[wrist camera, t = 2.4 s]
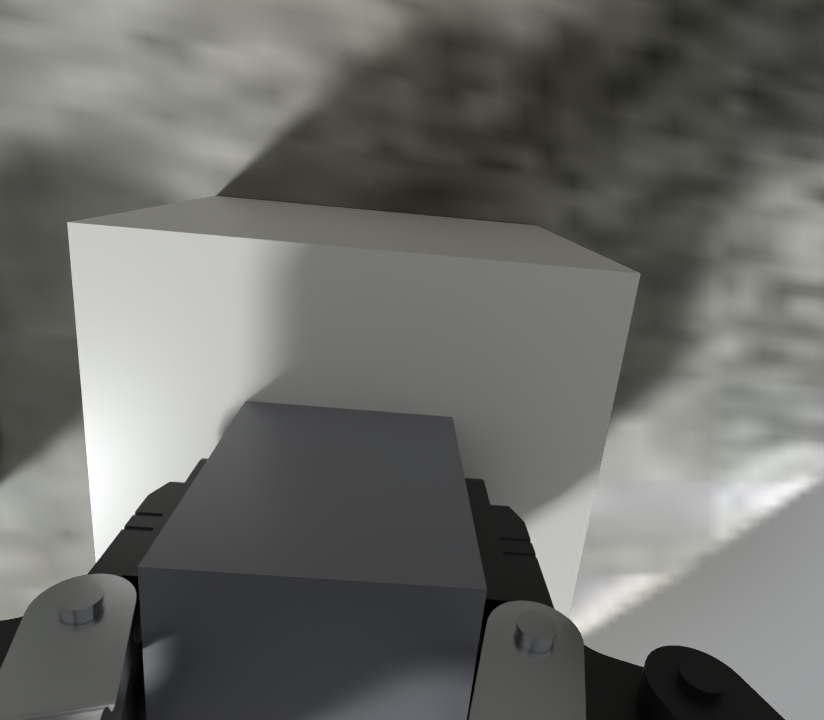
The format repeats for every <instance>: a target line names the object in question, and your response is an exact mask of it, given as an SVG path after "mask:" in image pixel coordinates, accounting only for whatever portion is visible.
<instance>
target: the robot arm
mask: <svg viewBox="0 0 824 720" xmlns="http://www.w3.org/2000/svg"><path fill="white" fill-rule="evenodd" d="M207 460H208V459H206V458H202V459H200V461H199V462H198V463H197V465H196V466H195V468H194V469H193V471H192V472H191V474H190V475H189V477H188V478H187V480H186V481H185V483H184V482H168V483H167V484H165V485H163V486H162V487H160V488H159V489H157V490H155V491H154V492H152V493H150V494H149V495H148V496H147V497H146V498H145V500H144V501H143V502H142V503H141V505H140V506H139V507H138V509H137V510H136V511H135V515H132V517H131V518H130V519H129V521H128V522H127V523H126V524H125V527H124V529H122V530H121V531H120V532H119V534H118V535H117V536H116V538H115V539H114V540H113V542H112V543H111V544H110V545H109V547H108V548H107V549H106V551H105V552H104V553H103V555H102V556H101V557H100V559H99V560H98V561H97V563H96V564H95V565H94V566H93V568H92V569H91V570H90V572H89V573H88V574H87V575H82V576H78V577H74V578H71V579H68V580H65V581H62V582H60V583H58V584H56V585H54V586H52V587H50V588H48V589H47V590H45V591H44V592H42V593H41V594H40V595H39V596H37V597H36V598H35V599H34V600H33V601H32V602H31V604H30V605H29V606H28V608H27V610H26V611H25V613H24V616H23V617H19V618H14V619H9V620H3V621H0V720H147V718H146V701H145V684H144V667H143V650H142V633H141V616H140V599H139V582H138V565H139V564H140V562H141V561H142V559H143V558H144V556H145V555H146V553H147V552H148V550H149V549H150V547H151V545H152V544H153V542H154V541H155V539H156V538H157V536H158V535H159V533H160V532H161V530H162V529H163V527H164V526H165V524H166V522H167V521H168V519H169V518H170V516H171V515H172V513H173V512H174V510H175V509H176V507H177V506H178V504H179V503H180V501H181V499H182V498H183V496H184V495H185V493H186V492H187V490H188V489H189V487H190V486H191V484H192V483H193V481H194V480H195V478H196V476H197V475H198V473H199V472H200V470H201V469H202V467H203V466H204V464H205V463H206V461H207ZM465 482H466V487H467V492H468V497H469V502H470V507H471V512H472V517H473V522H474V527H475V532H476V537H477V542H478V547H479V552H480V557H481V562H482V567H483V572H484V577H485V582H486V587H487V593H486V599H485V606H484V612H483V619H482V625H481V631H480V638H479V644H478V651H477V657H476V663H475V670H474V676H473V683H472V689H471V695H470V702H469V708H468V715H467V720H785V719H784V718H783V717H782V716H781V715H779V714H778V713H777V712H776V711H775V710H774V709H773V708H772V707H771V706H770V705H769V704H768V703H767V702H766V701H765V700H764V699H763V698H762V697H761V696H760V695H759V694H758V693H757V692H756V691H755V690H754V689H752V688H751V687H750V686H749V685H748V684H747V683H746V682H745V681H744V680H743V679H742V678H741V677H740V676H739V675H738V674H737V673H736V672H734V671H733V670H732V669H731V668H729V667H728V666H727V665H726V664H724V663H723V662H721V661H720V660H718V659H716V658H714V657H713V656H711V655H708V654H706V653H704V652H701V651H699V650H696V649H693V648H689V647H683V646H663V647H660V648H657V649H655V650H654V651H652V652H651V653H650V654H649V655H648V657H647V659H646V661H645V665H644V667H641V666H638V665H634V664H631V663H628V662H625V661H621V660H618V659H615V658H612V657H609V656H606V655H603V654H601V653H598V652H596V651H594V650H592V649H590V648H588V647H587V646H585V645H584V643H583V639H582V636H581V633H580V632H579V630H578V628H577V627H576V626H575V625H574V623H573V622H572V621H571V620H570V619H568V618H567V617H566V616H565V615H563V614H562V613H561V612H559V611H557V610H555V609H554V606H553V603H552V600H551V597H550V594H549V591H548V588H547V585H546V582H545V580H544V577H543V574H542V571H541V568H540V565H539V562H538V559H537V558H536V553H535V551H534V548H533V545H532V543H531V539H530V536H529V533H528V530H527V527H526V524H525V522H524V521H523V520H522V519H521V518H520V517H519V516H518V515H517V514H516V513H515V512H514V511H513V510H512V509H511V508H510V507H509V506H501V505H490V502H489V498H488V494H487V490H486V486H485V482H484V480H483V479H474V478H465Z"/></svg>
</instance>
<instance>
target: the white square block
mask: <svg viewBox="0 0 824 720" xmlns="http://www.w3.org/2000/svg"><path fill="white" fill-rule="evenodd" d="M67 225H68V237H69V249H70V261H71V273H72V285H73V297H74V309H75V320H76V332H77V344H78V356H79V368H80V380H81V392H82V404H83V416H84V427H85V439H86V451H87V463H88V475H89V487H90V499H91V511H92V522H93V534H94V546H95V558H96V563H97V561H98V560H99V559H100V557H101V556H102V555H103V553H104V552H105V551H106V549H107V548H108V547H109V545H110V544H111V543H112V542H113V540H114V539H115V538H116V536H117V535H118V534H119V532H120V531H121V530H122V529H124V527H125V524H126V523H127V522H128V521H129V519H130V518H131V517H132V515H135V511H136V510H137V509H138V507H139V506H140V505H141V503H142V502H143V501H144V500H145V498H146V497H147V496H148V495H149V494H150V493H152V492H154V491H155V490H157V489H159V488H160V487H162V486H163V485H165V484H167V483H168V482H184V483H185V481H186V480H187V478H188V477H189V475H190V474H191V472H192V471H193V469H194V468H195V466H196V465H197V463H198V462H199V461H200V459H202V458H206V459H208V460H207V461H206V463H205V464H204V466H203V467H202V469H201V470H200V472H199V473H198V475H197V476H196V478H195V480H194V481H193V483H192V484H191V486H190V487H189V489H188V490H187V492H186V493H185V495H184V496H183V498H182V499H181V501H180V503H179V504H178V506H177V507H176V509H175V510H174V512H173V513H172V515H171V516H170V518H169V519H168V521H167V522H166V524H165V526H164V527H163V529H162V530H161V532H160V533H159V535H158V536H157V538H156V539H155V541H154V542H153V544H152V545H151V547H150V549H149V550H148V552H147V553H146V555H145V556H144V558H143V559H142V561H141V562H140V564H139V565H138V582H139V599H140V616H141V633H142V650H143V667H144V684H145V701H146V718H147V720H467V715H468V708H469V702H470V695H471V689H472V683H473V676H474V670H475V663H476V657H477V651H478V644H479V638H480V631H481V625H482V619H483V612H484V606H485V599H486V593H487V587H486V582H485V577H484V572H483V567H482V562H481V557H480V552H479V547H478V542H477V537H476V532H475V527H474V522H473V517H472V512H471V507H470V502H469V497H468V492H467V487H466V482H465V478H474V479H483V480H484V482H485V486H486V490H487V494H488V498H489V502H490V505H501V506H509V507H510V508H511V509H512V510H513V511H514V512H515V513H516V514H517V515H518V516H519V517H520V518H521V519H522V520H523V521H524V522H525V524H526V527H527V530H528V533H529V536H530V539H531V543H532V545H533V548H534V551H535V553H536V558H537V559H538V562H539V565H540V568H541V571H542V574H543V577H544V580H545V582H546V585H547V588H548V591H549V594H550V597H551V600H552V603H553V606H554V609H555V610H557V611H559V612H561V613H562V614H563V615H565V616H566V617H567V618H569V613H570V608H571V603H572V599H573V594H574V589H575V584H576V580H577V575H578V570H579V565H580V560H581V556H582V551H583V546H584V541H585V537H586V532H587V527H588V522H589V518H590V513H591V508H592V503H593V499H594V494H595V489H596V484H597V480H598V475H599V470H600V465H601V461H602V456H603V451H604V446H605V441H606V437H607V432H608V427H609V422H610V418H611V413H612V408H613V403H614V399H615V394H616V389H617V384H618V380H619V375H620V370H621V365H622V361H623V356H624V351H625V346H626V342H627V337H628V332H629V327H630V322H631V318H632V313H633V308H634V303H635V299H636V294H637V289H638V284H639V280H640V275H641V273H639V272H637V271H634V270H632V269H630V268H628V267H626V266H624V265H621V264H619V263H617V262H615V261H613V260H611V259H608V258H606V257H604V256H602V255H600V254H598V253H595V252H593V251H591V250H589V249H587V248H585V247H582V246H580V245H578V244H576V243H574V242H572V241H569V240H567V239H565V238H563V237H561V236H559V235H556V234H554V233H552V232H550V231H548V230H546V229H543V228H541V227H539V226H537V225H526V224H515V223H505V222H494V221H483V220H472V219H461V218H450V217H440V216H429V215H418V214H407V213H396V212H385V211H375V210H364V209H353V208H342V207H331V206H320V205H310V204H299V203H288V202H277V201H266V200H256V199H245V198H234V197H223V196H211V197H206V198H200V199H195V200H189V201H183V202H178V203H172V204H166V205H161V206H155V207H150V208H144V209H138V210H133V211H127V212H121V213H116V214H110V215H105V216H99V217H93V218H88V219H82V220H76V221H71V222H67Z"/></svg>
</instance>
